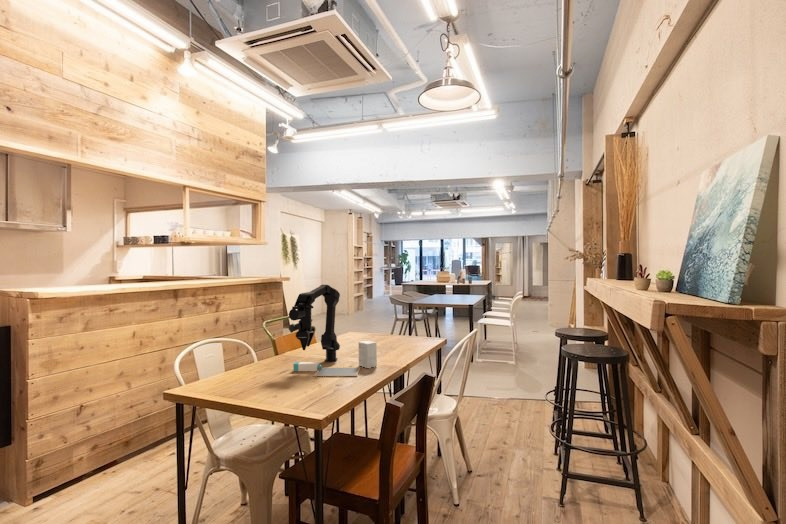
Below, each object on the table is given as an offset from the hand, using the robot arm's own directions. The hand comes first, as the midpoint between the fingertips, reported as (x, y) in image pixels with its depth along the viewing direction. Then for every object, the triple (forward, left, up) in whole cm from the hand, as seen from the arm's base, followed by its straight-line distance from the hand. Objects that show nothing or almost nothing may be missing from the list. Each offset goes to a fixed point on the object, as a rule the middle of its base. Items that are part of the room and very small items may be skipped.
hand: (306, 348), depth 218 cm
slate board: (+4, +17, -12) cm, 21 cm away
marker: (0, 0, -12) cm, 12 cm away
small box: (-8, +31, -12) cm, 34 cm away
